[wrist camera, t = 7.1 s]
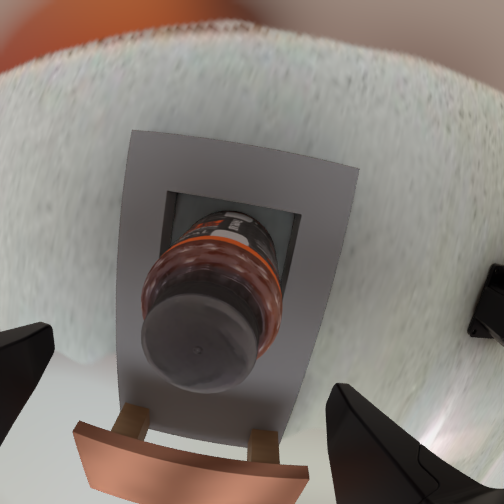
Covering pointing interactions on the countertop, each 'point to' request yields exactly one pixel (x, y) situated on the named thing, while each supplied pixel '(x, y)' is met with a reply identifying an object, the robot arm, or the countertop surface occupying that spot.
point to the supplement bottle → (212, 304)
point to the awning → (183, 467)
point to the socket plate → (292, 283)
